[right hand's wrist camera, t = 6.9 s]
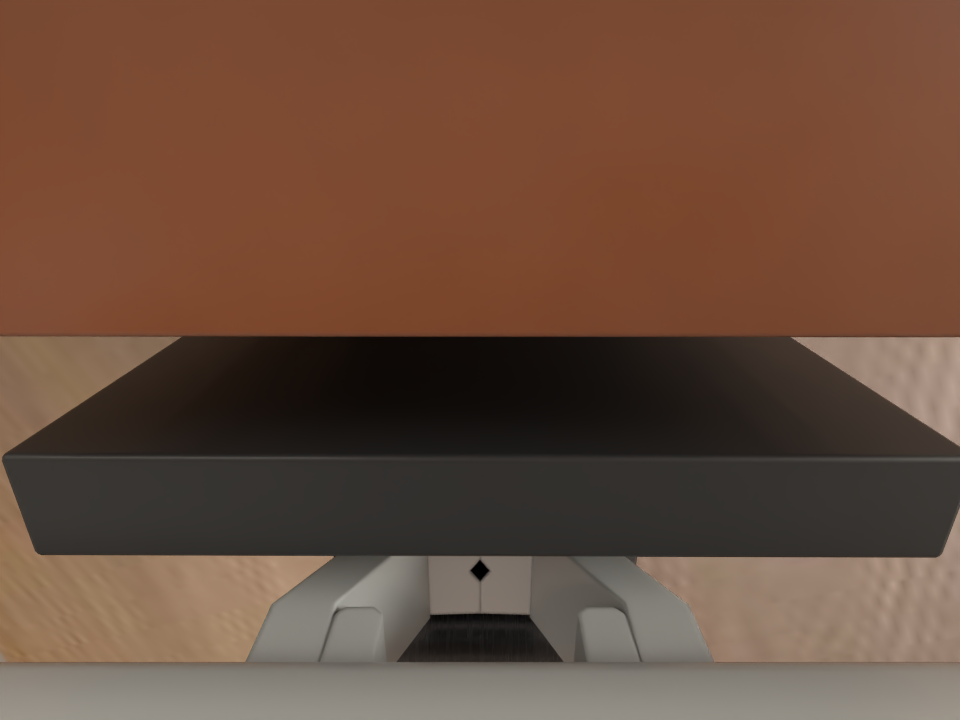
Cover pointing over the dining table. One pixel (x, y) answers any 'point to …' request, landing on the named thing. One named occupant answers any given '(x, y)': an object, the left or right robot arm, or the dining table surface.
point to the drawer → (487, 459)
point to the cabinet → (480, 168)
